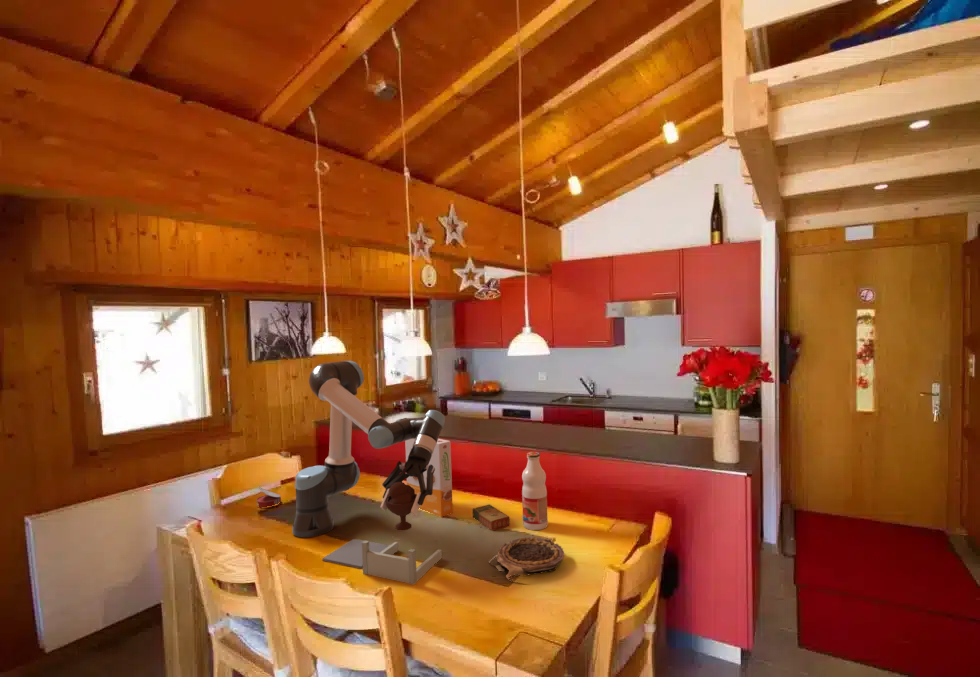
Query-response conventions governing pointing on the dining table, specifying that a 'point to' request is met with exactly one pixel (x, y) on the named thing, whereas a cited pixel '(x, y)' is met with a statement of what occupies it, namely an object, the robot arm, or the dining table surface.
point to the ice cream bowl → (401, 503)
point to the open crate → (396, 563)
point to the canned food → (268, 498)
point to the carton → (491, 517)
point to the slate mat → (352, 553)
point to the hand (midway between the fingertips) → (397, 511)
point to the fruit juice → (534, 494)
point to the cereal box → (436, 479)
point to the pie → (529, 556)
